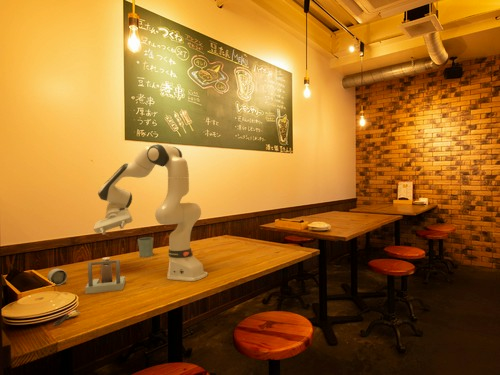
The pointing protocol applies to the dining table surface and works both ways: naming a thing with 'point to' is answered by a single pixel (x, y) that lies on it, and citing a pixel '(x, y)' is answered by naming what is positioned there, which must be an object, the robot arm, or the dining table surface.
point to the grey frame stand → (97, 287)
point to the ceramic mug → (57, 276)
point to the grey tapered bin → (145, 247)
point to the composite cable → (67, 317)
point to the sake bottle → (106, 271)
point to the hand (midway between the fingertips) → (112, 230)
